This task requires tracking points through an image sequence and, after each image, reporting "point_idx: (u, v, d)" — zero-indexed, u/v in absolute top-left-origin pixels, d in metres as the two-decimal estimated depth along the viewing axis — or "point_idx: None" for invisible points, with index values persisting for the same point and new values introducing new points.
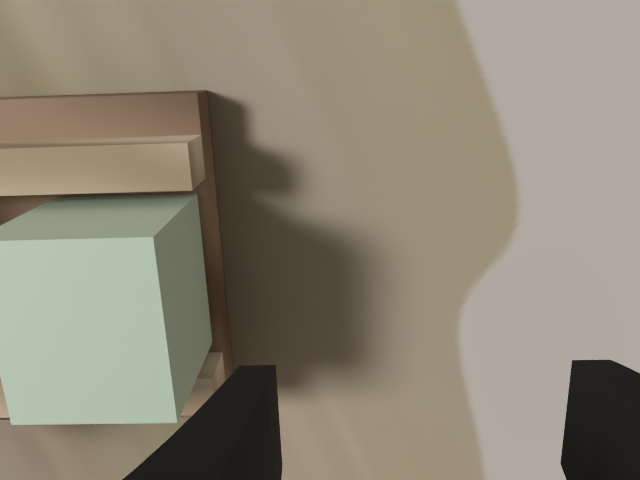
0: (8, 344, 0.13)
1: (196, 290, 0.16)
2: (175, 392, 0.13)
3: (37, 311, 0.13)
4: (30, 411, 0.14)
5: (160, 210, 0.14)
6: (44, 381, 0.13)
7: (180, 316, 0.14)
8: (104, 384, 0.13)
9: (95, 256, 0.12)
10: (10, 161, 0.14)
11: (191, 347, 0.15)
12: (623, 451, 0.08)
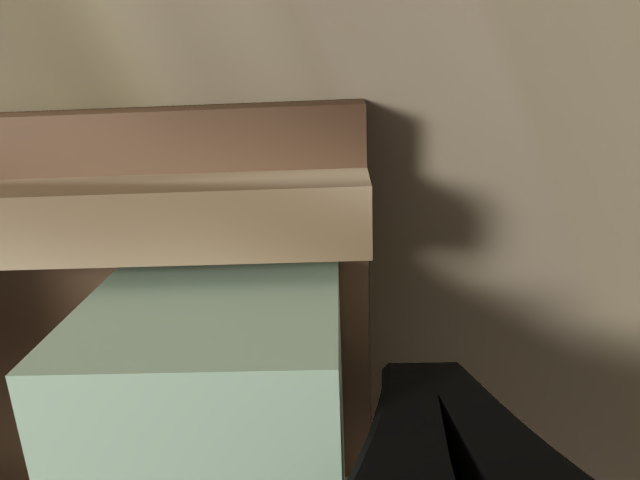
0: None
1: None
2: None
3: None
4: None
5: (306, 295, 0.09)
6: None
7: None
8: None
9: (231, 402, 0.07)
10: (83, 215, 0.09)
11: None
12: None
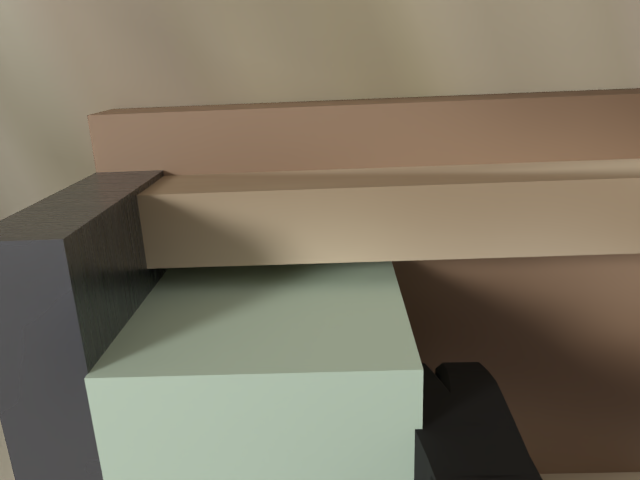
0: None
1: None
2: None
3: None
4: None
5: (368, 294, 0.09)
6: None
7: None
8: None
9: (312, 403, 0.07)
10: (451, 204, 0.09)
11: None
12: None
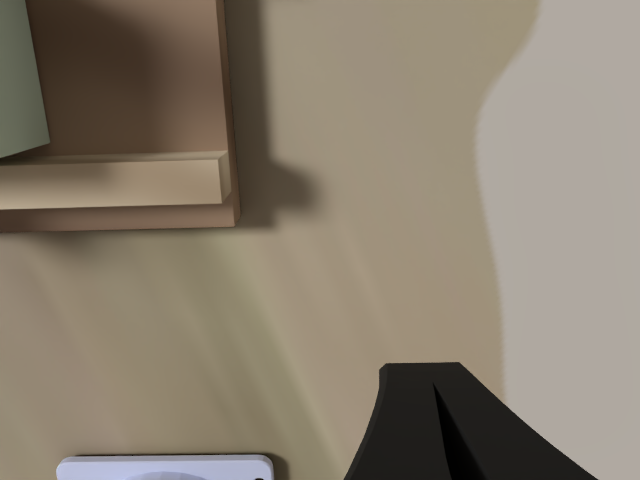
0: None
1: (14, 65, 0.15)
2: None
3: None
4: None
5: None
6: None
7: None
8: None
9: None
10: None
11: (1, 114, 0.14)
12: None
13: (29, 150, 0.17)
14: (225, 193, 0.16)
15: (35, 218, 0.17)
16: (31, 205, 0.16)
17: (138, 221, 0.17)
